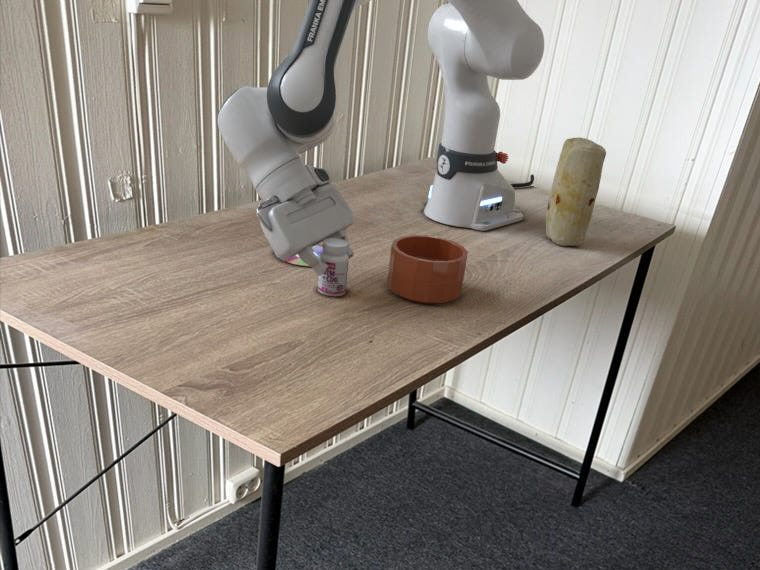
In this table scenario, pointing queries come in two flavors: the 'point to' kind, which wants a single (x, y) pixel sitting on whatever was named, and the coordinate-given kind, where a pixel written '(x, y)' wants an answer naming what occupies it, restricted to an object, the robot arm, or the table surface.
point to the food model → (574, 191)
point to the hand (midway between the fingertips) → (336, 265)
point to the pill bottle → (334, 267)
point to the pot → (426, 268)
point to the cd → (297, 259)
